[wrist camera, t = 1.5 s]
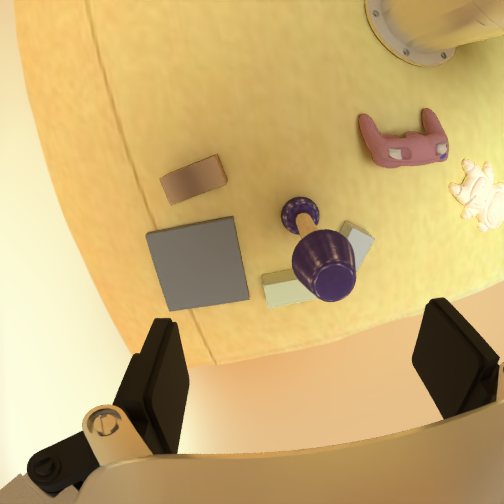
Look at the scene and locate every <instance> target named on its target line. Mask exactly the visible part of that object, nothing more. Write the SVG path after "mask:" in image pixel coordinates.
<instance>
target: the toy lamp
mask: <svg viewBox="0 0 504 504" xmlns="http://www.w3.org/2000/svg"><path fill="white" fill-rule="evenodd" d="M281 219H282V222H283V225H284V226H285V228H286V229H287V230H289V231H290V232H292V233H294V234H298V235H300V236H301V238H302V239H301V240H300V241H299V243H298V244H297V246H296V247H295V250H294V252H293V255H292V268H293V271H294V274H295V276H296V277H297V279H298V280H299V281H300V282H301V283H302V284H303V285H304V286H305V287H306V288H307V289H308V290H309V291H310V292H311V293H312V294H313V295H314V296H316V297H317V298H319V299H321V300H323V301H326V302H335V301H339V300H341V299H343V298H345V297H346V296H348V295H349V294H350V292H351V291H352V290H353V288H354V285H355V282H356V265H355V255H354V251H353V248H352V245H351V244H350V242H349V241H348V239H347V238H346V237H345V236H343V235H342V234H340V233H338V232H336V231H333V230H327V229H325V230H318V229H317V227H316V226H317V224H318V222H319V210H318V207H317V206H316V204H315V203H314V202H313V201H312V200H310V199H308V198H305V197H296V198H293V199H291V200H290V201H288V202H287V203H286V205H285V206H284V207H283V210H282V213H281Z"/></svg>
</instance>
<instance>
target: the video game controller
mask: <svg viewBox="0 0 504 504" xmlns="http://www.w3.org/2000/svg"><path fill="white" fill-rule="evenodd" d="M422 121H423V125H424V129H425V132H426V136H424V135H422V134H420V133H417V132H407V133H406V134H405V138H399V137H398V136H396V135H391V134H386V135H383V136H382V135H381V133H380V132H379V130H378V129H377V127H376V125H375V124H374V122H373V120H372V119H371V118H370V117H369V116H368V115H367V114H361V115H360V118H359V126H360V130H361V133H362V136H363V138H364V141H365V143H366V145H367V147H368V148H369V150H370V152H371V154H372V159H373V161H374V162H375V163H376V164H377V165H379V166H382V167H385V168H397V167H400V166H418V165H426V164H430V163H434V162H442V161H445V160H446V159H447V157H448V151H449V144H448V138H447V136H446V134H445V132H444V130H443V128H442V126H441V124H440V122H439V120H438V118H437V116H436V115H435V113H434V112H433V111H432V110H431V109H429V108H425V109H424V110H423V112H422Z"/></svg>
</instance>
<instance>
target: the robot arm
mask: <svg viewBox="0 0 504 504" xmlns="http://www.w3.org/2000/svg"><path fill="white" fill-rule="evenodd" d="M365 9H366V14H367V18H368V21H369V23H370V26H371V28H372V29H373V31H374V33H375V34H376V36H377V37H378V38H379V40H380V41H381V42H382V44H383V45H384V46H385V47H386V48H388V49H389V50H390V51H391V52H392V53H393V54H395V55H396V56H397V57H399V58H400V59H402V60H404V61H406V62H408V63H411V64H414V65H416V66H422V67H432V66H437V65H440V64H443V63H445V62H446V61H448V60H449V59H450V58H451V57H452V55H453V54H454V53H455V50H456V47H457V46H460V45H464V44H467V43H471V42H475V41H479V40H480V41H485V40H486V39H488V38H492V37H497V36H501V35H504V0H365ZM403 52H404V53H403ZM499 358H500V357H499V356H498V355H497V354H496V353H495V351H494V350H493V349H492V348H491V347H490V346H489V344H488V343H487V342H486V341H485V340H484V339H483V338H482V337H481V336H480V334H479V333H478V332H477V331H476V330H475V329H474V328H473V327H472V326H471V324H470V323H469V322H468V321H467V320H466V319H465V318H464V317H463V316H462V315H461V314H460V313H459V312H458V311H457V310H456V309H455V308H454V307H453V305H451V303H450V302H449V301H448V300H447V299H446V298H443V297H442V298H435V299H431V300H430V301H429V303H428V304H427V305H426V307H425V311H424V315H423V319H422V323H421V327H420V331H419V334H418V338H417V342H416V345H415V348H414V352H413V355H412V363H413V366H414V368H415V369H416V371H417V373H418V374H419V376H420V378H421V380H422V381H423V383H424V385H425V386H426V388H427V390H428V392H429V393H430V395H431V397H432V399H433V400H434V402H435V404H436V406H437V408H438V410H439V411H440V413H441V415H442V417H443V419H444V420H441V421H438V422H435V423H431V424H428V425H424V426H421V427H417V428H414V429H410V430H406V431H402V432H398V433H394V434H390V435H385V436H381V437H376V438H372V439H366V440H362V441H356V442H351V443H345V444H338V445H332V446H325V447H318V448H310V449H301V450H292V451H279V452H266V453H243V454H177V452H178V445H179V439H180V434H181V429H182V423H183V416H184V412H185V406H186V401H187V395H188V390H189V375H188V370H187V366H186V362H185V357H184V353H183V348H182V344H181V339H180V334H179V329H178V325H177V323H176V322H172V320H171V318H155V319H154V321H153V323H152V326H151V328H150V330H149V333H148V335H147V338H146V340H145V342H144V345H143V347H142V350H141V352H140V353H135V354H134V355H133V356H132V358H131V361H130V363H129V365H128V368H127V370H126V372H125V375H124V377H123V380H122V382H121V385H120V387H119V389H118V392H117V395H116V397H115V399H114V402H113V405H101V406H97V407H95V408H93V409H92V410H90V411H89V412H88V413H87V414H86V415H85V417H84V419H83V423H82V427H83V431H81V432H79V433H77V434H75V435H73V436H71V437H69V438H67V439H65V440H62V441H60V442H58V443H56V444H54V445H52V446H50V447H47V448H45V449H43V450H41V451H39V452H37V453H36V454H34V455H33V456H32V457H31V458H30V460H29V462H28V464H27V473H26V474H25V475H24V476H22V475H21V474H19V475H18V476H17V477H15V478H14V479H13V480H12V481H11V482H9V483H8V484H7V485H6V486H5V487H3V488H2V489H1V490H0V504H504V362H503V363H502V364H501V365H500V366H499V365H498V361H499Z"/></svg>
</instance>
